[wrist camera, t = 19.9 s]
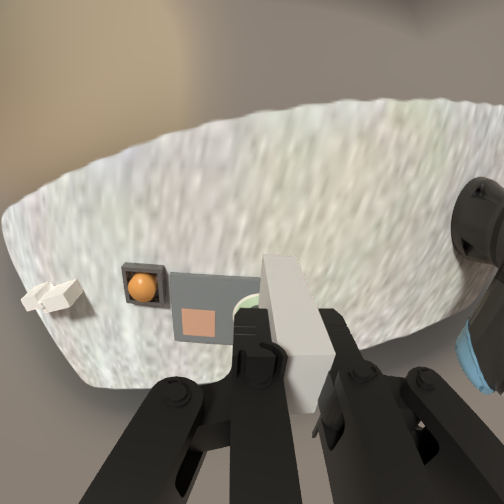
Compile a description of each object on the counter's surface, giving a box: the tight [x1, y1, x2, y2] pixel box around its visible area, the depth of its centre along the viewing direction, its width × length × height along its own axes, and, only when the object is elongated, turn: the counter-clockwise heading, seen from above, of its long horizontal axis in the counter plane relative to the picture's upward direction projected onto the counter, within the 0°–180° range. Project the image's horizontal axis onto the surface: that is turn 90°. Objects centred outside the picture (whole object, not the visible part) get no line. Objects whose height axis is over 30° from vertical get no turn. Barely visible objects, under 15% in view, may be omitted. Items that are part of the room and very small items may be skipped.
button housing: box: [121, 262, 166, 307], centre depth 38 cm, size 6×6×2 cm
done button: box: [128, 272, 158, 302], centre depth 38 cm, size 4×4×2 cm
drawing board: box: [170, 272, 261, 345], centre depth 41 cm, size 18×12×1 cm, turn 85°
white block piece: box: [21, 279, 83, 313], centre depth 36 cm, size 15×11×6 cm
